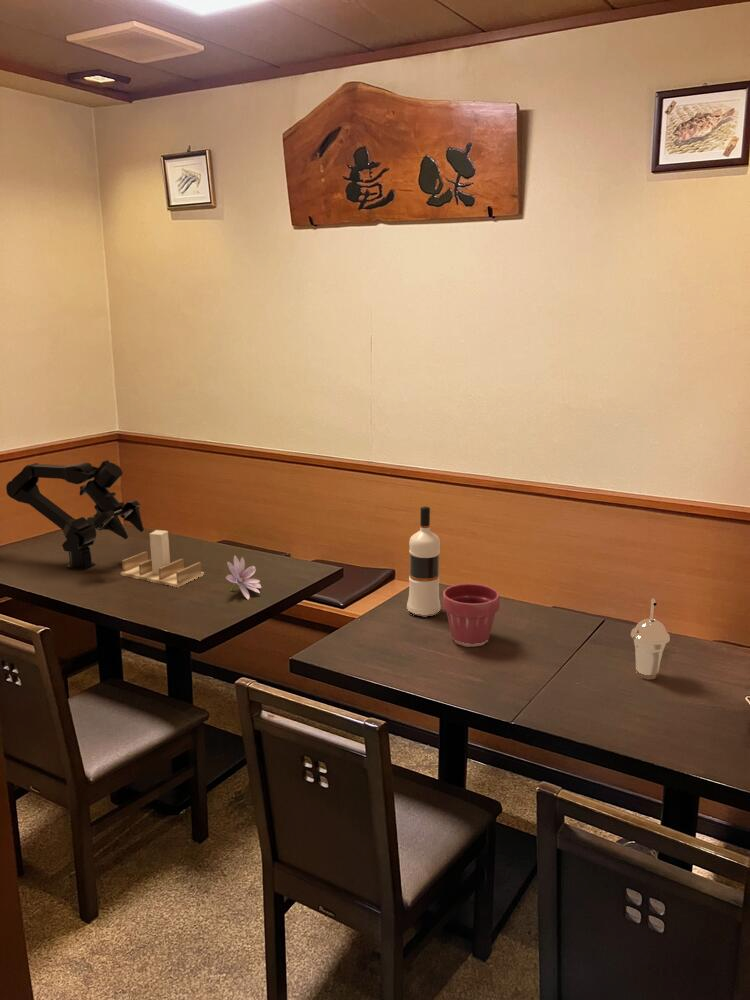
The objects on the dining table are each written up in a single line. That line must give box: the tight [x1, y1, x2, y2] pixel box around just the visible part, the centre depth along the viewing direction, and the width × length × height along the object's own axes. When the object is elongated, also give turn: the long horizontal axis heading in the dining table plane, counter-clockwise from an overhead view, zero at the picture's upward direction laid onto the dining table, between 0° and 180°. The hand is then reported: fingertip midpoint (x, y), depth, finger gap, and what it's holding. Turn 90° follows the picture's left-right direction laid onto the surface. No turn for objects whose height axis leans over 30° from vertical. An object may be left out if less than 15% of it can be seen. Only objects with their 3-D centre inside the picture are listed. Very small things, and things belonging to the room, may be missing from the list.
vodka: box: [406, 506, 442, 615], centre depth 217 cm, size 9×9×30 cm
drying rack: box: [120, 551, 205, 589], centre depth 249 cm, size 23×12×4 cm, turn 62°
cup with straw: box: [630, 597, 671, 675], centre depth 182 cm, size 8×9×20 cm
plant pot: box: [442, 583, 500, 644], centre depth 202 cm, size 14×14×13 cm
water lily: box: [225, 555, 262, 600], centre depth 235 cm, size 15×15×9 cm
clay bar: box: [149, 529, 171, 575], centre depth 247 cm, size 4×4×13 cm
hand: (135, 534), depth 248 cm, fingers open, 9 cm apart
